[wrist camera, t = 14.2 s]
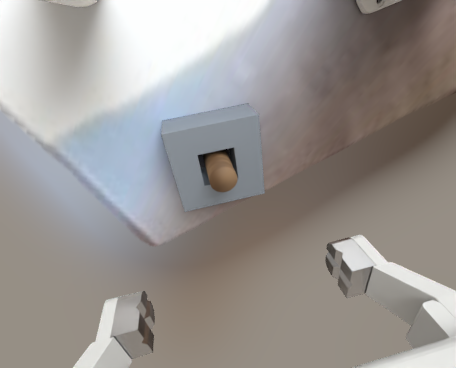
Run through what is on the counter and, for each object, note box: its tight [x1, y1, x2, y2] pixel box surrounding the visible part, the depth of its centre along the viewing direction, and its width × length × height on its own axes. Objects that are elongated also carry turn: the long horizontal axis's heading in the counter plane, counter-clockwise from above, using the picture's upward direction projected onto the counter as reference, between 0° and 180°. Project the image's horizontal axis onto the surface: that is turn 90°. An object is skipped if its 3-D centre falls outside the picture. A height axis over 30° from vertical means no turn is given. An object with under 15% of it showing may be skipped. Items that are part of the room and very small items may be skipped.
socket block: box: [161, 104, 265, 212], centre depth 42 cm, size 14×14×6 cm
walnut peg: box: [203, 149, 237, 192], centre depth 40 cm, size 4×4×10 cm
